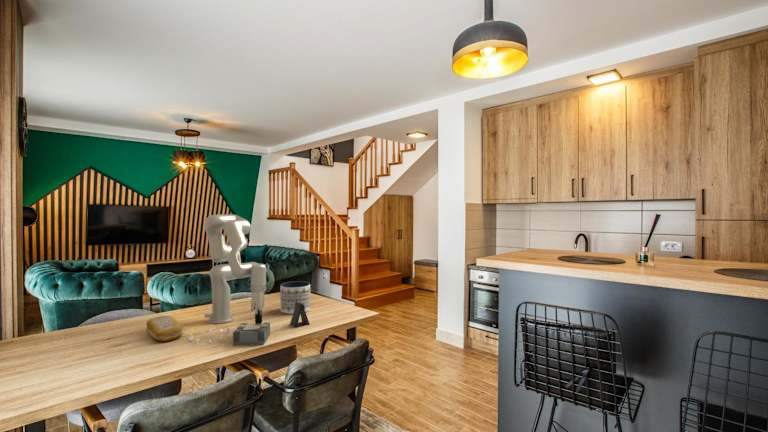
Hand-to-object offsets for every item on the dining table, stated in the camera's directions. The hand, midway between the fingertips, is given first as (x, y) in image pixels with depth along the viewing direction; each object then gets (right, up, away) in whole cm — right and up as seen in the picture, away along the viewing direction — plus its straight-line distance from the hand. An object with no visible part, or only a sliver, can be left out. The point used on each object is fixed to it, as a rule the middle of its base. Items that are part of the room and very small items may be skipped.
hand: (258, 322), depth 191 cm
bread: (-45, -5, -6) cm, 46 cm away
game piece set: (-21, -5, -9) cm, 24 cm away
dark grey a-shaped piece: (+19, -4, +10) cm, 22 cm away
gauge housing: (+1, -4, -13) cm, 14 cm away
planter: (+10, -4, +38) cm, 40 cm away
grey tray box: (+1, -3, -12) cm, 13 cm away
